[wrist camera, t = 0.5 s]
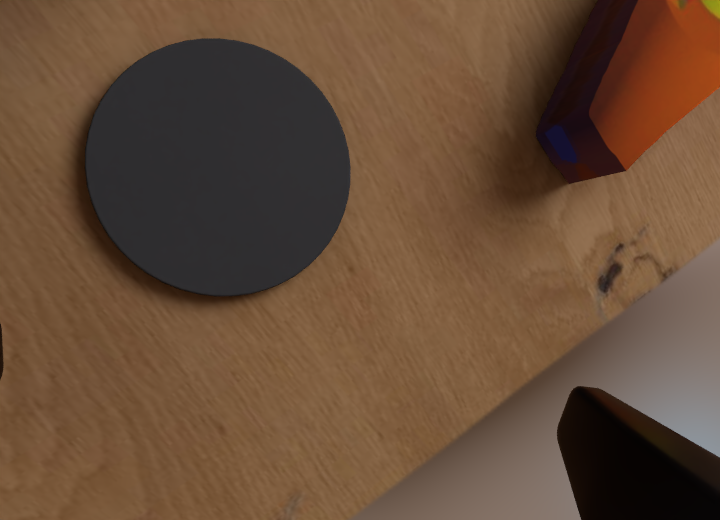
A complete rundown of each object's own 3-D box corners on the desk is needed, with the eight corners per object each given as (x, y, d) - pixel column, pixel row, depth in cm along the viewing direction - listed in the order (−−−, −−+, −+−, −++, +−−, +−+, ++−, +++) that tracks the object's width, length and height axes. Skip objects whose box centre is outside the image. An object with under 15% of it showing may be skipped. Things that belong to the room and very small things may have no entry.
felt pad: (337, 303, 24) (341, 304, 23) (75, 286, 21) (72, 287, 20) (355, 68, 24) (359, 63, 24) (100, 20, 21) (97, 13, 21)
